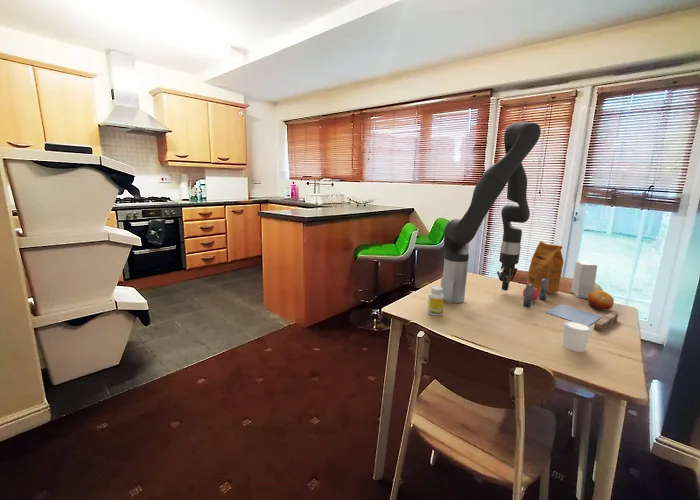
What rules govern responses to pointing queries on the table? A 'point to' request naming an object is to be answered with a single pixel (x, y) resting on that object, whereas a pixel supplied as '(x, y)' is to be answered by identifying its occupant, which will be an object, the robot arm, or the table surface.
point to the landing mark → (574, 314)
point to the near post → (528, 295)
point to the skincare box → (584, 278)
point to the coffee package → (546, 266)
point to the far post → (543, 289)
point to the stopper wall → (605, 321)
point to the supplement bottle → (436, 301)
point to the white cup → (576, 336)
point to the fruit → (600, 300)
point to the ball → (535, 294)
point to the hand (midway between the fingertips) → (504, 289)
